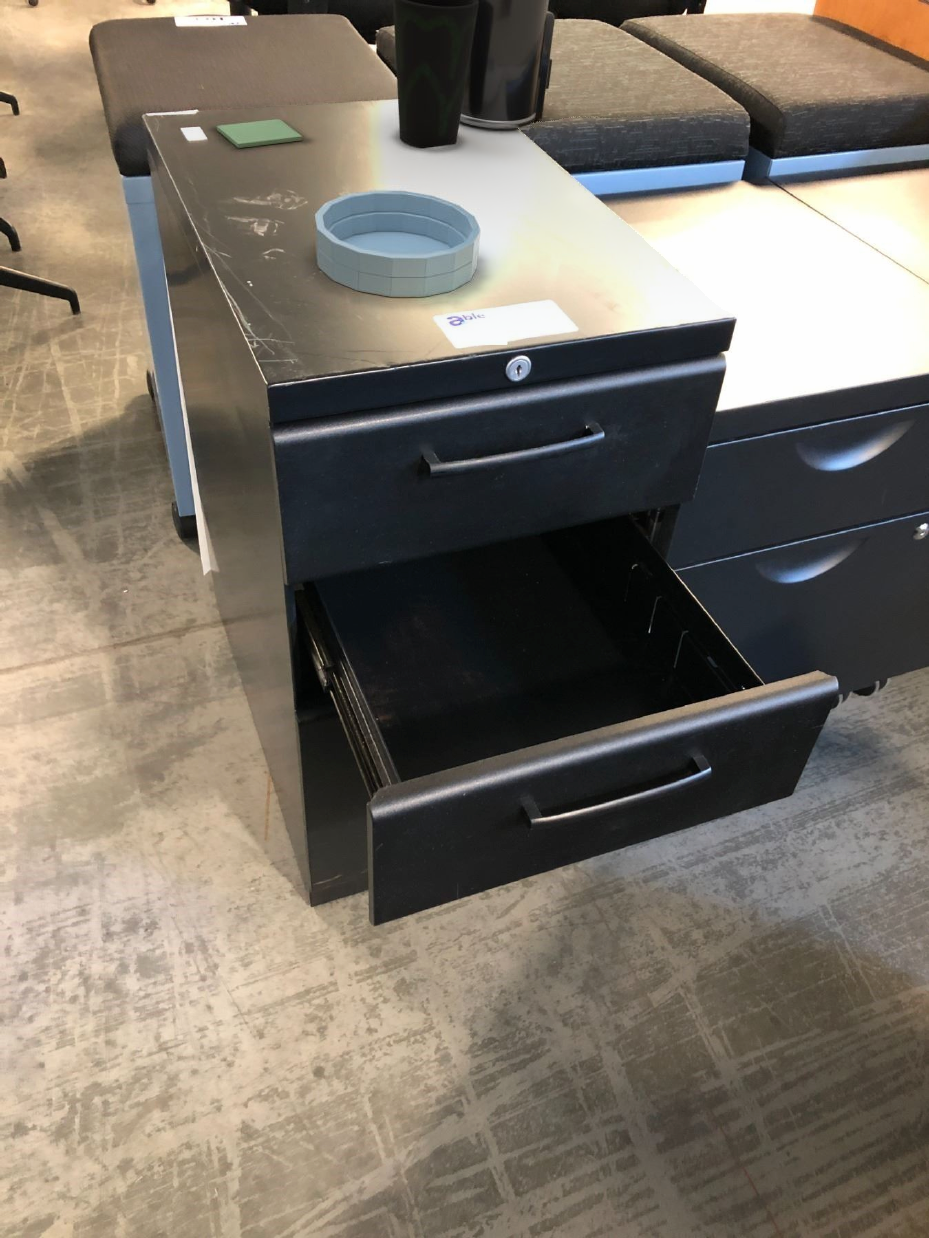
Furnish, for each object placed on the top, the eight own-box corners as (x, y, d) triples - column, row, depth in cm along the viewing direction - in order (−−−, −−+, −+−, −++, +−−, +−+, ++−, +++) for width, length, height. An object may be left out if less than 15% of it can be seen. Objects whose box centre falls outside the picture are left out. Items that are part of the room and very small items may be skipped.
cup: (458, 158, 91) (469, 12, 83) (380, 145, 92) (383, -1, 84) (473, 132, 97) (485, -7, 88) (399, 121, 97) (404, -19, 89)
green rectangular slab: (279, 123, 94) (279, 118, 94) (302, 140, 91) (301, 136, 91) (217, 130, 91) (216, 125, 91) (238, 148, 89) (238, 143, 88)
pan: (423, 225, 80) (425, 182, 77) (505, 287, 73) (510, 241, 70) (289, 249, 74) (287, 203, 72) (364, 318, 68) (364, 269, 65)
